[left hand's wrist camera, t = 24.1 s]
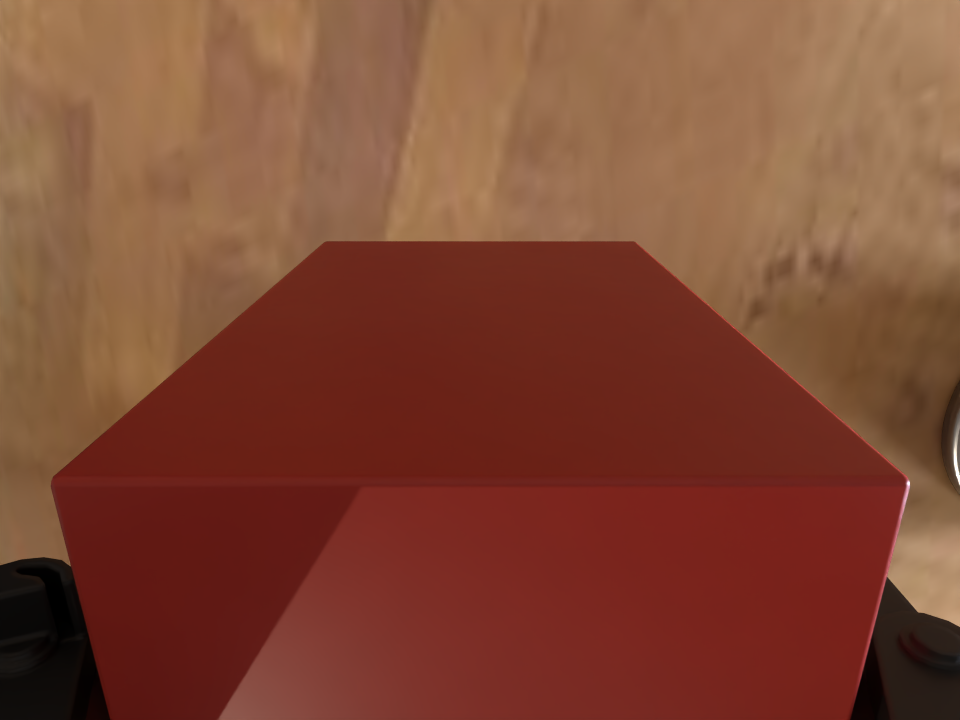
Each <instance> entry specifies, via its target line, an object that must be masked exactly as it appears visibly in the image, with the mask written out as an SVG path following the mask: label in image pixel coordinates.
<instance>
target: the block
mask: <svg viewBox="0 0 960 720" xmlns="http://www.w3.org/2000/svg"><path fill="white" fill-rule="evenodd" d="M909 488H910V484H909V479H908V477H907V476H906V475H905V474H903V473H902V472H901V471H900V470H899V469H898V468H896V467H895V466H894V465H893V464H892V463H891V462H889V461H888V460H887V459H886V458H885V457H884V456H883V455H881V454H880V453H879V452H878V451H877V450H876V449H874V448H873V447H872V446H871V445H870V444H869V443H867V442H866V441H865V440H864V439H863V438H862V437H861V436H859V435H858V434H857V433H856V432H855V431H854V430H852V429H851V428H850V427H849V426H848V425H847V424H845V423H844V422H843V421H842V420H841V419H840V418H839V417H837V416H836V415H835V414H834V413H833V412H832V411H830V410H829V409H828V408H827V407H826V406H825V405H823V404H822V403H821V402H820V401H819V400H818V399H817V398H815V397H814V396H813V395H812V394H811V393H810V392H808V391H807V390H806V389H805V388H804V387H803V386H801V385H800V384H799V383H798V382H797V381H796V380H795V379H793V378H792V377H791V376H790V375H789V374H788V373H786V372H785V371H784V370H783V369H782V368H781V367H779V366H778V365H777V364H776V363H775V362H774V361H773V360H771V359H770V358H769V357H768V356H767V355H766V354H764V353H763V352H762V351H761V350H760V349H759V348H757V347H756V346H755V345H754V344H753V343H752V342H751V341H749V340H748V339H747V338H746V337H745V336H744V335H742V334H741V333H740V332H739V331H738V330H737V329H735V328H734V327H733V326H732V325H731V324H730V323H729V322H727V321H726V320H725V319H724V318H723V317H722V316H720V315H719V314H718V313H717V312H716V311H715V310H713V309H712V308H711V307H710V306H709V305H708V304H707V303H705V302H704V301H703V300H702V299H701V298H700V297H698V296H697V295H696V294H695V293H694V292H693V291H691V290H690V289H689V288H688V287H687V286H686V285H685V284H683V283H682V282H681V281H680V280H679V279H678V278H676V277H675V276H674V275H673V274H672V273H671V272H669V271H668V270H667V269H666V268H665V267H664V266H663V265H661V264H660V263H659V262H658V261H657V260H656V259H654V258H653V257H652V256H651V255H650V254H649V253H647V252H646V251H645V250H644V249H643V248H642V247H641V246H639V245H638V244H637V243H636V242H446V241H327V242H324V243H323V244H322V245H321V246H320V247H318V248H317V249H316V250H315V251H314V252H313V253H311V254H310V255H309V256H308V257H307V258H306V259H305V260H303V261H302V262H301V263H300V264H299V265H298V266H296V267H295V268H294V269H293V270H292V271H291V272H289V273H288V274H287V275H286V276H285V277H284V278H283V279H281V280H280V281H279V282H278V283H277V284H276V285H274V286H273V287H272V288H271V289H270V290H269V291H268V292H266V293H265V294H264V295H263V296H262V297H261V298H259V299H258V300H257V301H256V302H255V303H254V304H253V305H251V306H250V307H249V308H248V309H247V310H246V311H244V312H243V313H242V314H241V315H240V316H239V317H237V318H236V319H235V320H234V321H233V322H232V323H231V324H229V325H228V326H227V327H226V328H225V329H224V330H222V331H221V332H220V333H219V334H218V335H217V336H216V337H214V338H213V339H212V340H211V341H210V342H209V343H207V344H206V345H205V346H204V347H203V348H202V349H200V350H199V351H198V352H197V353H196V354H195V355H194V356H192V357H191V358H190V359H189V360H188V361H187V362H185V363H184V364H183V365H182V366H181V367H180V368H179V369H177V370H176V371H175V372H174V373H173V374H172V375H170V376H169V377H168V378H167V379H166V380H165V381H163V382H162V383H161V384H160V385H159V386H158V387H157V388H155V389H154V390H153V391H152V392H151V393H150V394H148V395H147V396H146V397H145V398H144V399H143V400H142V401H140V402H139V403H138V404H137V405H136V406H135V407H133V408H132V409H131V410H130V411H129V412H128V413H127V414H125V415H124V416H123V417H122V418H121V419H120V420H118V421H117V422H116V423H115V424H114V425H113V426H111V427H110V428H109V429H108V430H107V431H106V432H105V433H103V434H102V435H101V436H100V437H99V438H98V439H96V440H95V441H94V442H93V443H92V444H91V445H90V446H88V447H87V448H86V449H85V450H84V451H83V452H81V453H80V454H79V455H78V456H77V457H76V458H74V459H73V460H72V461H71V462H70V463H69V464H68V465H66V466H65V467H64V468H63V469H62V470H61V471H59V472H58V473H57V474H56V475H55V476H54V477H53V479H52V481H51V489H52V493H53V497H54V501H55V505H56V509H57V513H58V517H59V521H60V524H61V528H62V532H63V536H64V540H65V544H66V548H67V552H68V556H69V560H70V564H71V568H72V572H73V575H74V579H75V583H76V587H77V591H78V595H79V599H80V603H81V607H82V611H83V615H84V619H85V623H86V626H87V630H88V634H89V638H90V642H91V646H92V650H93V654H94V658H95V662H96V666H97V670H98V674H99V677H100V681H101V685H102V689H103V693H104V697H105V701H106V705H107V709H108V713H109V717H110V720H850V719H851V715H852V711H853V707H854V703H855V699H856V695H857V691H858V687H859V683H860V679H861V676H862V672H863V668H864V664H865V660H866V656H867V652H868V648H869V644H870V640H871V637H872V633H873V629H874V625H875V621H876V617H877V613H878V609H879V605H880V601H881V597H882V594H883V590H884V586H885V582H886V578H887V574H888V570H889V566H890V562H891V558H892V554H893V551H894V547H895V543H896V539H897V535H898V531H899V527H900V523H901V519H902V515H903V511H904V508H905V504H906V500H907V496H908V492H909Z"/></svg>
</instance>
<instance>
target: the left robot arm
mask: <svg viewBox="0 0 960 720" xmlns="http://www.w3.org/2000/svg"><path fill="white" fill-rule="evenodd" d="M942 455H943V460H944V465H945V468H946V471H947V474H948V476H949V478H950V480H951V483H952V484H953V486H954V487H955V489H956V490H957V492H958V493H959V494H960V381H959V383H958V385H957V387H956V389H955V391H954V393H953V395H952V397H951V400H950V402H949V405H948V408H947V411H946V415H945V419H944V423H943V430H942ZM0 720H110V717H109V713H108V709H107V705H106V701H105V697H104V693H103V689H102V685H101V681H100V677H99V674H98V670H97V666H96V662H95V658H94V654H93V650H92V646H91V642H90V638H89V634H88V630H87V626H86V623H85V619H84V615H83V611H82V607H81V603H80V599H79V595H78V591H77V587H76V583H75V579H74V575H73V572H72V568H71V567H70V566H69V565H68V564H66V563H65V562H63V561H62V560H58V559H51V558H45V557H42V558H32V559H22V560H18V561H14V562H11V563H7V564H4V565H0ZM850 720H960V627H959V626H957V625H955V624H953V623H951V622H949V621H947V620H944V619H940V618H937V617H934V616H931V615H928V614H925V613H918V612H917V611H916V610H915V609H914V607H913V606H912V605H911V604H910V603H909V602H908V600H907V599H906V598H905V597H904V596H903V595H902V594H901V592H900V591H899V590H898V589H897V588H896V587H895V585H894V584H893V583H892V582H891V581H890V580H889V579H888V577H887V578H886V582H885V586H884V590H883V594H882V597H881V601H880V605H879V609H878V613H877V617H876V621H875V625H874V629H873V633H872V637H871V640H870V644H869V648H868V652H867V656H866V660H865V664H864V668H863V672H862V676H861V679H860V683H859V687H858V691H857V695H856V699H855V703H854V707H853V711H852V715H851V719H850Z"/></svg>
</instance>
